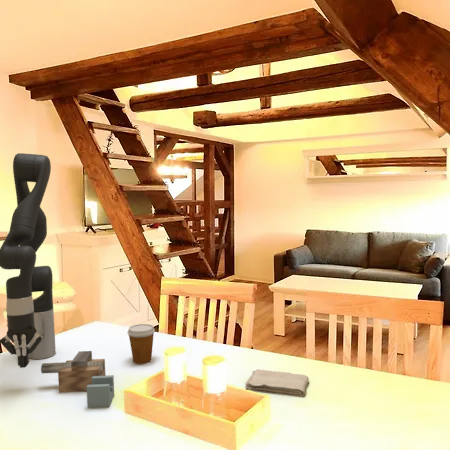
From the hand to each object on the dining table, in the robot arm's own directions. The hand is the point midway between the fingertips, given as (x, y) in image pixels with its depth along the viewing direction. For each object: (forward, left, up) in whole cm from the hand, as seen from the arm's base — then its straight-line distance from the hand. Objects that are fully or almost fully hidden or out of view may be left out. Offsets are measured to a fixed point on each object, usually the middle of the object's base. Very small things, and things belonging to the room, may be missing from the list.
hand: (23, 366), depth 137 cm
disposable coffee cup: (+34, +19, -7) cm, 39 cm away
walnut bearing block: (+18, 0, -7) cm, 19 cm away
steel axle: (+15, 0, -2) cm, 15 cm away
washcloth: (+77, -6, -8) cm, 78 cm away
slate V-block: (+26, -11, -7) cm, 29 cm away
